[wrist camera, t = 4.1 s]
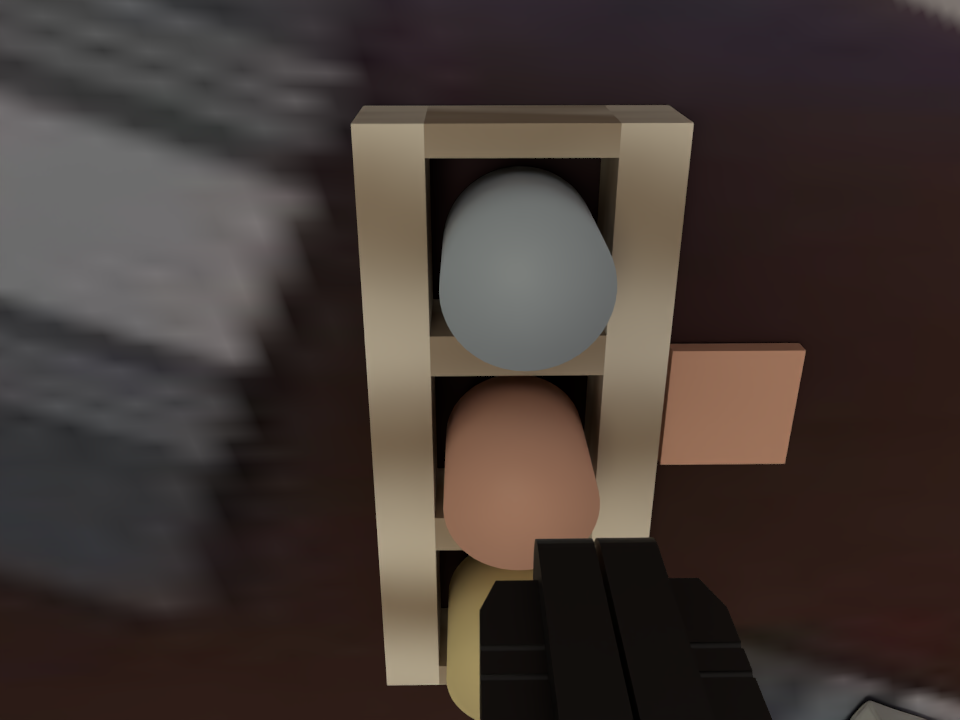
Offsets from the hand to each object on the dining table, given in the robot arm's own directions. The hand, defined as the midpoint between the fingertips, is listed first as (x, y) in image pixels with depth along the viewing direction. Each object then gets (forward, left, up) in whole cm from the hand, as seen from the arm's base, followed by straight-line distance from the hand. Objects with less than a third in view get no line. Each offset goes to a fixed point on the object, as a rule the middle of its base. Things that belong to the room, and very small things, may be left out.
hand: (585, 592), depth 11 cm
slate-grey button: (0, 0, -15) cm, 15 cm away
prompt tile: (-4, -9, -17) cm, 20 cm away
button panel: (-6, -2, -17) cm, 18 cm away
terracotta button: (-6, -2, -15) cm, 16 cm away
